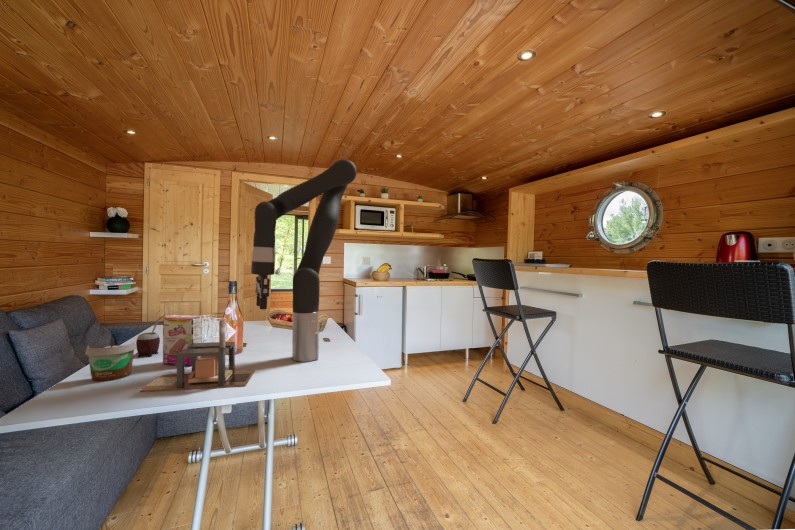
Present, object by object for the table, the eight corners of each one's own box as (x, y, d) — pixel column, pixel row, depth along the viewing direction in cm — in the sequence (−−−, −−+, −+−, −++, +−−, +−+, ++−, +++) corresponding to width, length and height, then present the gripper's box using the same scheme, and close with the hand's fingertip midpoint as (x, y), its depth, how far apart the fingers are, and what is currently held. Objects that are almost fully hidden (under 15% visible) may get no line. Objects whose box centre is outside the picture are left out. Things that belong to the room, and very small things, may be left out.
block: (219, 371, 106) (219, 355, 106) (214, 377, 101) (214, 360, 101) (201, 372, 105) (201, 355, 105) (195, 377, 100) (195, 360, 100)
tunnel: (255, 371, 112) (255, 340, 112) (245, 386, 99) (245, 351, 99) (162, 375, 107) (162, 343, 107) (139, 392, 94) (139, 355, 94)
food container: (78, 385, 98) (78, 350, 98) (86, 379, 104) (85, 345, 103) (132, 379, 104) (132, 346, 104) (136, 373, 109) (136, 341, 109)
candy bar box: (161, 365, 117) (161, 317, 117) (172, 360, 122) (172, 314, 122) (192, 366, 116) (192, 317, 116) (202, 362, 121) (202, 315, 121)
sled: (232, 373, 108) (232, 318, 108) (225, 380, 101) (226, 322, 101) (197, 374, 106) (197, 318, 106) (188, 382, 99) (188, 323, 99)
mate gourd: (134, 355, 128) (134, 315, 128) (159, 351, 134) (159, 312, 134) (139, 359, 124) (139, 317, 123) (165, 354, 129) (165, 314, 129)
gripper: (278, 261, 115) (276, 310, 115) (271, 260, 127) (269, 304, 128) (254, 260, 111) (252, 310, 111) (249, 259, 124) (247, 305, 124)
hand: (261, 307), depth 119 cm, fingers open, 8 cm apart
